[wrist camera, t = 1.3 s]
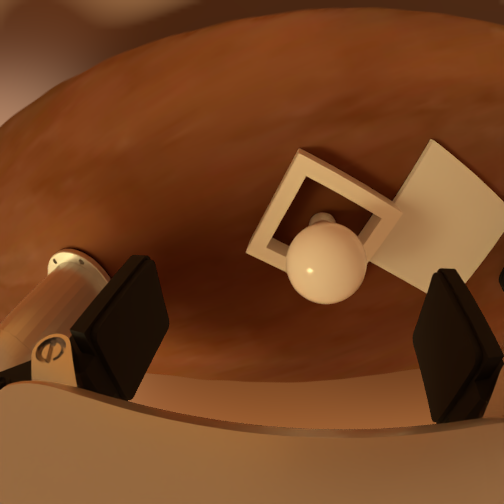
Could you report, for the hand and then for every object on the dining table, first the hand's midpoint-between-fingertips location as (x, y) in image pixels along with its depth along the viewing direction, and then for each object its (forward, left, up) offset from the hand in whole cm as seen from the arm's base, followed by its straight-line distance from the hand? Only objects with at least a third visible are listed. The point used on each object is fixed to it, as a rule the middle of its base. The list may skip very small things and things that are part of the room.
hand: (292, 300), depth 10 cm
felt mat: (+1, -17, -21) cm, 27 cm away
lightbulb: (-5, -5, -21) cm, 22 cm away
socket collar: (-5, -5, -21) cm, 22 cm away
